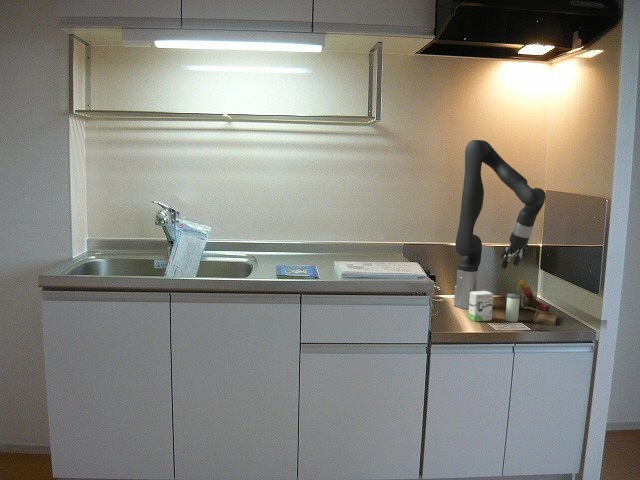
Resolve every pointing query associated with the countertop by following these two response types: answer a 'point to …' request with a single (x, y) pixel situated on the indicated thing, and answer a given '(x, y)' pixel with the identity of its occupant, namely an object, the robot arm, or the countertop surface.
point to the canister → (512, 307)
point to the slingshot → (530, 298)
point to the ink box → (480, 306)
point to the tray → (545, 317)
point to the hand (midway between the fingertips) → (509, 266)
